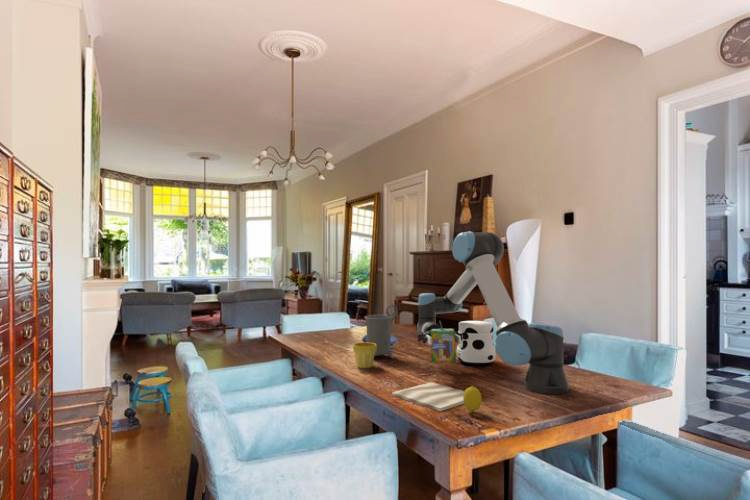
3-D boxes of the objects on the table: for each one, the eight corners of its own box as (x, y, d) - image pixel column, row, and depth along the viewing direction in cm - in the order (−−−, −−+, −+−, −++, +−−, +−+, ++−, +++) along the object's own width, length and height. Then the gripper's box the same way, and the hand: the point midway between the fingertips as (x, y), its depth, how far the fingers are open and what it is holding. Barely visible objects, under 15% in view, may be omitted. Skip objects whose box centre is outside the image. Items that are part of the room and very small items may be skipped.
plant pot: (377, 363, 206) (377, 342, 206) (375, 369, 196) (375, 346, 196) (354, 363, 207) (354, 341, 207) (351, 369, 197) (351, 346, 197)
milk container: (502, 362, 208) (501, 322, 209) (484, 369, 195) (484, 327, 196) (468, 356, 220) (467, 319, 220) (449, 363, 206) (449, 323, 207)
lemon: (473, 416, 137) (473, 389, 138) (459, 411, 142) (459, 385, 142) (485, 412, 141) (485, 386, 141) (471, 408, 145) (471, 382, 145)
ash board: (479, 398, 155) (479, 395, 155) (440, 411, 142) (440, 408, 142) (431, 384, 172) (431, 382, 172) (392, 395, 159) (392, 392, 159)
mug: (369, 361, 210) (369, 307, 210) (356, 355, 223) (356, 304, 224) (405, 358, 218) (404, 305, 218) (390, 352, 231) (390, 302, 232)
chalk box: (455, 362, 171) (454, 322, 171) (431, 362, 172) (430, 322, 173) (455, 357, 180) (454, 319, 180) (432, 357, 181) (431, 319, 182)
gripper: (458, 340, 196) (475, 349, 174) (405, 341, 193) (415, 351, 171) (458, 322, 196) (474, 329, 174) (405, 323, 194) (414, 331, 172)
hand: (445, 340), depth 173 cm, fingers closed on chalk box, 11 cm apart
